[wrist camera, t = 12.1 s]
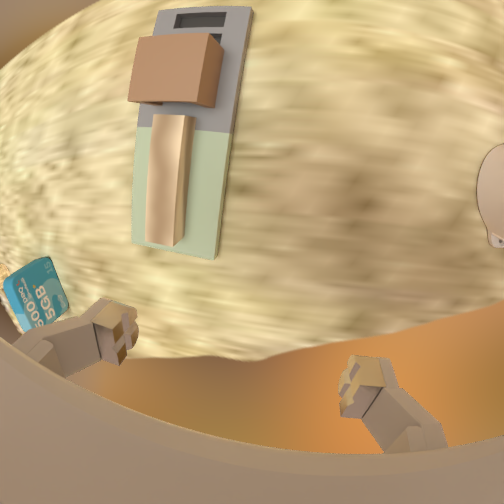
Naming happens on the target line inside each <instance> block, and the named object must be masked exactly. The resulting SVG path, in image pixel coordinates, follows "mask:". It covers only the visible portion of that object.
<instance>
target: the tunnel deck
mask: <svg viewBox="0 0 504 504" xmlns="http://www.w3.org/2000/svg"><path fill="white" fill-rule="evenodd" d="M252 18H253V10H252V8H251V7H244V6H208V7H189V8H177V9H168V10H159V12H158V16H157V19H156V23H155V27H154V32H153V36H147V37H140V38H139V41H138V45H137V50H136V55H135V59H134V65H133V70H132V76H131V81H130V88H129V94H128V101H129V102H136V103H140V108H139V116H138V124H137V133H136V144H135V155H134V170H133V189H132V243H134V244H138V245H143V246H148V247H152V248H157V249H162V250H166V251H171V252H176V253H180V254H185V255H190V256H195V257H199V258H204V259H209V260H215V258H216V257H217V255H218V247H219V238H220V229H221V221H222V212H223V204H224V196H225V188H226V181H227V173H228V166H229V158H230V151H231V144H232V137H233V130H234V124H235V117H236V110H237V104H238V98H239V91H240V85H241V79H242V73H243V67H244V62H245V56H246V50H247V45H248V39H249V34H250V28H251V23H252ZM154 114H165V115H185V116H191V117H196V125H195V132H194V140H193V148H192V157H191V165H190V175H189V185H188V195H187V207H186V220H185V234H184V237H183V238H182V239H181V240H180V241H179V242H178V243H177V244H176V245H175V246H173V247H170V246H166V245H161V244H156V243H151V242H146V241H145V218H146V193H147V176H148V163H149V151H150V141H151V132H152V123H153V115H154Z"/></svg>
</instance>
